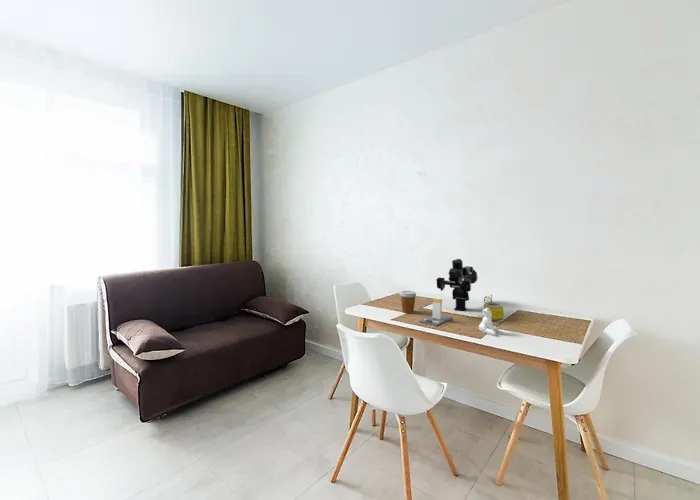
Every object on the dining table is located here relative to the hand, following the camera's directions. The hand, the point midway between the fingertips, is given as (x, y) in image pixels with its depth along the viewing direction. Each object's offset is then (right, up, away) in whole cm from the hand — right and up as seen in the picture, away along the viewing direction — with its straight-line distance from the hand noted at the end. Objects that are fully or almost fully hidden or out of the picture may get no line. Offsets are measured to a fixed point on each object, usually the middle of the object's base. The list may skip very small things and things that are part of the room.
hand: (449, 290), depth 186 cm
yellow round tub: (+26, -16, +5) cm, 31 cm away
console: (-7, -16, -1) cm, 18 cm away
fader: (-7, -15, 0) cm, 16 cm away
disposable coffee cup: (-20, -15, +17) cm, 30 cm away
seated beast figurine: (+13, -18, -20) cm, 30 cm away
